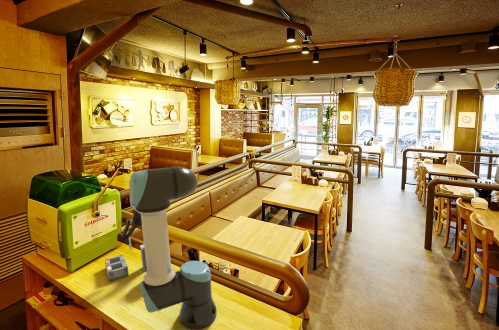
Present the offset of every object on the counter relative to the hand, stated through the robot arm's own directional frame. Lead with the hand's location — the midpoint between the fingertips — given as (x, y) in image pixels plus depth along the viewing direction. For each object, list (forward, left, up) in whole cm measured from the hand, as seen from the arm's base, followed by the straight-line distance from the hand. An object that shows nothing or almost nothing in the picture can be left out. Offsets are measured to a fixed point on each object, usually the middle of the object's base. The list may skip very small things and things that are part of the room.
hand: (144, 245), depth 149 cm
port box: (+5, +14, -13) cm, 20 cm away
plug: (0, 0, -13) cm, 13 cm away
